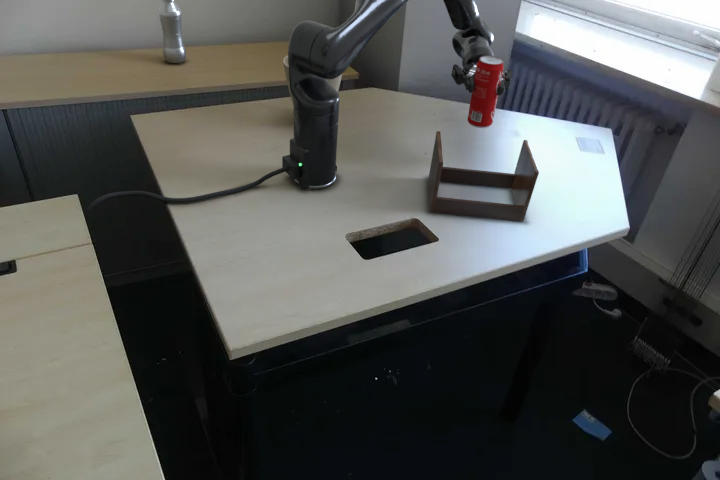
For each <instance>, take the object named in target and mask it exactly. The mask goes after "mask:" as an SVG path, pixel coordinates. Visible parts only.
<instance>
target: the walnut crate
mask: <svg viewBox="0 0 720 480" xmlns="http://www.w3.org/2000/svg"><path fill="white" fill-rule="evenodd" d="M515 165H516V166H515V169H514V172H513V173H511V172H510V173H509V172H499V171H490V170H480V169H469V168H461V167H450V166H444V154H443V145H442V135H441V131H439V130H437V131H436V132H435V139H434V145H433V149H432V157H431V161H430V166H429V174H428V177H427V178H428V197H429V198H428V199H429V212H430V213H437V214H445V215H455V216H464V217H465V216H466V217H473V218H484V219H494V220H495V219H496V220H504V221H513V222H525V218H526V214H527V211H528V208H529V205H530V202H531V199H532V196H533V192H534V189H535V186H536V183H537V180H538V177H539V174H540V171H539V169H538V168H539V167H538V166H537V163H536V159H535V158H534V155H533V151H532V149H531V146H530V144H529V142H528V139H523V141H522V145H521V148H520V152H519V154H518V159H517V162H516V164H515ZM440 182H442V183H451V184H452V183H453V184H461V185H471V186H478V187H479V186H480V187H491V188H501V189H510V190H511V194H512V195H511V196H512V198H513V203H514V204H513V203H512V204H510V203H502V202H493V201H491V202H490V201H481V200H474V199H473V200H471V199H462V198H454V197H452V198H451V197H442V196H438V193H439V188H440Z"/></svg>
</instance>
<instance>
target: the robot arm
mask: <svg viewBox="0 0 720 480" xmlns="http://www.w3.org/2000/svg"><path fill="white" fill-rule="evenodd" d="M408 1H409V0H355V4H354V5H355V7H354V12H353V13H352V14H351V16H349V18H348V19H347V20H345V21H344V22H343V23H342V24H341V25H339V26H337V27H332V26H329V25H326V24H323V23H319V22H316V21H313V20H303V21H300V22H298V23H297V24H296V26H294V28H293V29H292V32H291V34H290V36H289V41H288V47H287V55H288V66H289V83H290V91H291V94H292V97H293V100H294V106H293V138H290V139H289V154H287V155H283V156H282V157H281V165H282V167H280V168H278V169H276V170H273V171H271V172H269V173H266V174H264V175H262V176H261V177H260V178H259V179H257V180H255V181H253V182H250V183H247V184H245V185H242V186H238V187H233V188H230V189H224V190H220V191H215V192H209V193H205V194H202V195H197V196H191V197H168V196H162V195H159V194H157V193H154V192H150V191H145V190H127V191H117V192H116V191H115V192H114V191H113V192H109V193H106V194H103V195H100V196H99V197H97V198H96V199H94V200H93V201H92V202H91V203H90V204H89V205H88V206H87V208H86V211H88V212H89V211H93V210H94V209H95V208H96V207H97V206H98V205H99V204H101V203H103V202H104V201H106V200H110V199H114V198H120V197H133V196H136V197H137V196H138V197H139V196H140V197H146V198H150V199H153V200H157V201H159V202H160V201H161V202H164V203H170V204H187V203H194V202H199V201H204V200H208V199H213V198H217V197H222V196H227V195H233V194H236V193H240V192H244V191H247V190H249V189H250V190H251V189H252V188H255V187H257V186H259V185H261V184H262V183H264V182H265V181H267V180H269V179H270V178H273V177H275V176H277V175H280V174H283V173H286V174H287V175H288V176H289V178H290V179H291V180H292V181H293V182H294V183H295V184H296V185H297V186H299V187H300V188H301V189H302V190H303V191H306V190H323V189H327V188H330V187H332V185H334V184H335V183H336V180H337V175H336V174H337V173H338V166H337V152H338V133H339V118H340V117H339V116H340V115H339V113H340V94H339V91H338V92H337V91H336V90H335V89H334V88H333V87H332V86H331V84H330V83H329V82H328V81H327V79H334V78H336V77H338V76H340V75H341V74H342V75H343V74H344V73H345V71H346V70H347V69H348V68H349V67H350V66H351V64H353V62H354V61H355V60H356V58H357V57H358V56H359V55H360V53H361V52H362V50H364V48H365V47H366V45H367V44H368V43H369V42H370V41H371V39H372V38H373V37H374V36H375V35H376V34H377V33H378V32H379V31H380V30H381V29H382V27H384V26H385V24H386V23H387V22H388V21H389V20H391V18H392V17H394V16H395V15H396V14H397V13H398V12H399V11H400V10H401V9H402V8H403V7H404V6H405V5H406V4H407V3H408ZM476 2H477V1H476V0H443V3H444V5H445V8H446V11H447V13H448V17H449V19H450V22H451V24H452V27H454V28H455V29H456V30H458V31H455V33H454V34H453V36H452V39H451V45H452V48H453V50H454V52H455V54H456V55H457V56H458V57H459V58H460V59H461V64H462V67H461V66H459V65H458V64H457V63H455V64H453V65H452V70H451V78H452V79H453V80H454V82H455V84H456V85H458V86H462V84H463V85H464V87H465V90H466V91H468V93H469V94H472V93H473V88H474V78H475V72H476V66H477V63H478V61H479V58H480V57H482V56H495V55H494V52H493V50H492V49H491V46H492V45H493V42H494V37H495V36H494V32H493V29H492V27H490V25H489V23H487V21H486V20H485V19H484V18H483V16H482V15H481V14H480V12H479V11H480V10H479V9H478V5H477V3H476ZM512 78H513V70H511V69H507V70H506V71H503V74H502V79H501V83H500V85H499V89H498V93H497V95H498V97H501V96H502V95H504V93H505V90H506V91H508V90H509V89H510V86H511V82H512Z"/></svg>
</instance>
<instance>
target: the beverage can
mask: <svg viewBox="0 0 720 480" xmlns="http://www.w3.org/2000/svg"><path fill="white" fill-rule="evenodd" d="M503 72H504V60H503V59H502V58H501V57H499V56H495V55H494V56H482V57H480V58H479V61H478V63H477V66H476V72H475V78H474V88H473V93H471V95H470V102H469V108H468V114H467V122H468V124H469V126H472V127H474V128H479V129H487V128H490V127H491V126H492V125H493V122H494V117H495V113H496V107H497V102H498V98H499V96H498V95H497V93H498V89H499V85H500V83H501V79H502V74H503Z"/></svg>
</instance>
